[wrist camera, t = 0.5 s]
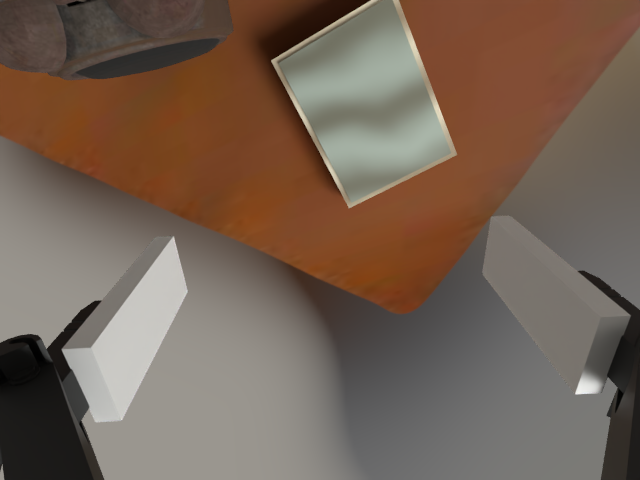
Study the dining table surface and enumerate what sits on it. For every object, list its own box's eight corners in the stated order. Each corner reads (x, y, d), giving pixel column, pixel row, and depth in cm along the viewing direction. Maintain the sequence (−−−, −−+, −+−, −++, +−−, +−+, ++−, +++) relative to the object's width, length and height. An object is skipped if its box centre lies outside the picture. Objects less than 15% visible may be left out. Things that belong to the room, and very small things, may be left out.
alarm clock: (117, 87, 38) (-63, 111, 20) (80, 4, 35) (-172, -56, 17) (257, 47, 37) (201, 34, 18) (231, -43, 34) (135, -163, 15)
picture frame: (274, 60, 37) (270, 60, 34) (387, -8, 35) (394, -14, 32) (347, 198, 43) (349, 209, 40) (447, 148, 41) (457, 155, 38)
